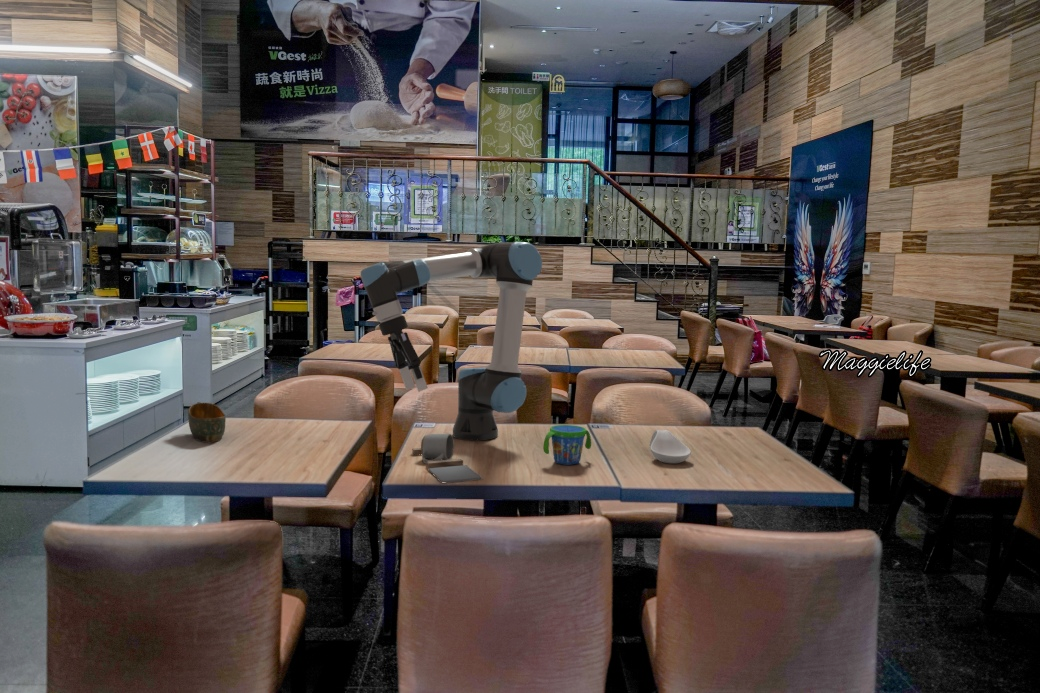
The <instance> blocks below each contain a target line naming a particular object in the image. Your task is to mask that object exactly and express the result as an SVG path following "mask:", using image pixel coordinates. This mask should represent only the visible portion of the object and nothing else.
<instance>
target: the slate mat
mask: <svg viewBox="0 0 1040 693" xmlns="http://www.w3.org/2000/svg"><path fill="white" fill-rule="evenodd" d="M427 470H429V471H430V472H429V473H430V474H432V473H433V474H434V475H435V476H436V477H437V478H438V479H439V480H440V481H441V482H451V483H460V482H461V483H462V482H471V481H470V480H472V481H479V480H480V481H481V479H482V480H483V476H481V475H480V474H479V473H477V472H476V471H474V470H473V469H472V468H470V467H469V466H468V465H466V464H463V465H462V466H450V467H439V468H427ZM433 474H432V475H433ZM434 475H433V476H434ZM435 476H434V477H435ZM436 477H435V478H436ZM437 478H436V479H437ZM438 479H437V480H438ZM439 480H438V481H439ZM440 481H439V482H440ZM441 482H440V483H441Z"/></svg>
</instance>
